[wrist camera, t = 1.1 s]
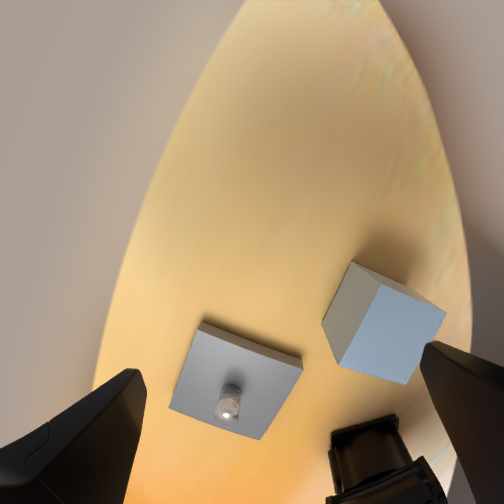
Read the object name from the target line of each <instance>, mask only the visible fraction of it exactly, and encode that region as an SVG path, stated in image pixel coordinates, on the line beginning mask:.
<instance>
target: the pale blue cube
mask: <svg viewBox="0 0 504 504" xmlns="http://www.w3.org/2000/svg"><path fill="white" fill-rule="evenodd" d="M446 314H447V313H446V312H444V311H443V310H441V309H440V308H438V307H437V306H435V305H434V304H433V303H431V302H430V301H428V300H427V299H425V298H424V297H422V296H421V295H419V294H418V293H416V292H415V291H413V290H412V289H410V288H409V287H407V286H405V285H403V284H401V283H399V282H396V281H394V280H392V279H390V278H388V277H385V276H383V275H381V274H379V273H377V272H374V271H372V270H370V269H368V268H365V267H363V266H361V265H359V264H356V263H354V262H352V261H351V263H350V265H349V268H348V270H347V272H346V274H345V276H344V278H343V281H342V283H341V285H340V287H339V289H338V291H337V293H336V295H335V297H334V299H333V301H332V303H331V306H330V308H329V310H328V312H327V314H326V316H325V318H324V320H323V321H322V323H321V325H322V327H323V330H324V332H325V334H326V337H327V339H328V342H329V344H330V347H331V349H332V352H333V354H334V357H335V359H336V362H337V364H338V366H341V367H345V368H348V369H351V370H354V371H358V372H361V373H364V374H368V375H371V376H374V377H378V378H381V379H385V380H388V381H392V382H396V383H399V384H403V385H406V383H407V382H408V380H409V379H410V377H411V376H412V374H413V373H414V371H415V369H416V368H417V366H418V365H419V363H420V361H421V357H422V353H423V349H424V346H425V344H426V343H428V342H432V341H433V339H434V337H435V335H436V333H437V331H438V329H439V328H440V326H441V324H442V322H443V320H444V318H445V316H446Z"/></svg>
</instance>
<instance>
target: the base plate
mask: <svg viewBox="0 0 504 504" xmlns="http://www.w3.org/2000/svg"><path fill="white" fill-rule="evenodd" d="M303 370H304V369H303V364H302V359H299V358H296V357H293V356H290V355H287V354H284V353H282V352H279V351H276V350H273V349H271V348H268V347H265V346H262V345H260V344H257V343H254V342H252V341H249V340H247V339H244V338H241V337H239V336H236V335H234V334H231V333H229V332H226V331H224V330H221V329H219V328H216V327H214V326H212V325H209V324H207V323H204V322H201V324H200V325H199V327H198V329H197V332H196V334H195V337H194V340H193V342H192V345H191V348H190V350H189V353H188V356H187V358H186V361H185V364H184V366H183V369H182V372H181V374H180V377H179V380H178V383H177V385H176V388H175V391H174V394H173V396H172V399H171V402H170V405H169V407H168V408H170V409H172V410H175V411H177V412H179V413H182V414H184V415H187V416H189V417H192V418H194V419H197V420H200V421H202V422H205V423H208V424H210V425H213V426H216V427H219V428H222V429H225V430H228V431H231V432H234V433H237V434H240V435H243V436H246V437H250V438H253V439H257V440H260V439H261V438H262V436H263V435H264V433H265V432H266V430H267V429H268V427H269V426H270V424H271V423H272V421H273V420H274V418H275V416H276V415H277V413H278V412H279V410H280V408H281V407H282V405H283V404H284V402H285V400H286V399H287V397H288V395H289V394H290V392H291V390H292V389H293V387H294V385H295V384H296V382H297V380H298V378H299V377H300V375H301V373H302V372H303Z"/></svg>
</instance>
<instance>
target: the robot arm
mask: <svg viewBox="0 0 504 504" xmlns="http://www.w3.org/2000/svg"><path fill="white" fill-rule="evenodd" d="M420 370H421V373H422V375H423V378H424V380H425V383H426V386H427V388H428V391H429V394H430V396H431V399H432V402H433V404H434V406H435V409H436V411H437V413H438V415H439V417H440V419H441V421H442V423H443V425H444V427H445V430H446V432H447V434H448V436H449V438H450V440H451V443H452V445H453V447H454V449H455V452H456V454H457V456H458V458H459V461H460V463H461V466H462V468H463V470H464V473H465V475H466V478H467V480H468V483H469V485H470V488H471V491H472V493H473V495H474V498H475V500H476V501H475V502H476V504H504V367H502V366H499V365H497V364H494V363H492V362H489V361H487V360H484V359H482V358H479V357H477V356H474V355H472V354H469V353H467V352H464V351H462V350H459V349H457V348H454V347H452V346H449V345H447V344H444V343H442V342H439V341H432V342H428V343H426V344H425V346H424V349H423V353H422V357H421V361H420ZM146 398H147V389H146V386H145V383H144V380H143V377H142V374H141V372H140V370H139V369H133V368H127V369H125V370H123V371H122V372H120V373H119V374H118V375H116V376H115V377H113V378H112V379H110V380H109V381H107V382H106V383H104V384H103V385H101V386H100V387H99V388H97V389H96V390H94V391H93V392H91V393H90V394H88V395H87V396H85V397H84V398H82V399H81V400H79V401H78V402H76V403H75V404H73V405H72V406H71V407H69V408H67V409H66V410H65V411H63V412H61V413H60V414H58V415H57V416H55V417H54V418H53V419H51V420H50V421H49V422H46V423H45V424H43V425H42V426H40V427H39V428H37V429H35V430H34V431H32V432H30V433H29V434H27V435H25V436H24V437H22V438H20V439H18V440H16V441H14V442H12V443H10V444H8V445H6V446H4V447H3V448H0V504H123V502H124V498H125V494H126V490H127V486H128V481H129V477H130V474H131V470H132V466H133V462H134V458H135V454H136V451H137V447H138V443H139V439H140V435H141V430H142V423H143V417H144V410H145V404H146ZM393 419H394V420H393ZM398 424H399V418H398V416H397V415H396V414H393V415H390V416H387V417H384V418H381V419H378V420H375V421H371V422H368V423H365V424H361V425H358V426H354V427H350V428H347V429H343V430H339V431H335V432H333V433H331V435H330V438H331V445H332V449H331V450H329V451H328V457H329V463H330V469H331V474H332V479H333V484H334V490H335V494H337V495H335V496H329V497H326V504H448V502H447V498H446V496H445V493H444V491H443V489H442V486H441V484H440V482H439V481H438V479H437V477H436V476H435V474H434V472H433V471H432V469H431V468H430V466H429V464H428V463H427V461H426V460H425V458H424V456H421V457H419V458H417V460H415V461H413V460H412V458H411V456H410V454H409V452H408V450H407V448H406V446H405V444H404V442H403V440H402V438H401V436H400V434H399V432H398ZM335 436H336V437H335Z"/></svg>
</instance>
